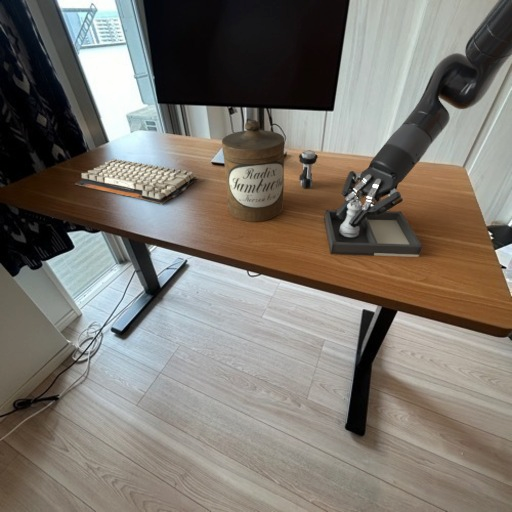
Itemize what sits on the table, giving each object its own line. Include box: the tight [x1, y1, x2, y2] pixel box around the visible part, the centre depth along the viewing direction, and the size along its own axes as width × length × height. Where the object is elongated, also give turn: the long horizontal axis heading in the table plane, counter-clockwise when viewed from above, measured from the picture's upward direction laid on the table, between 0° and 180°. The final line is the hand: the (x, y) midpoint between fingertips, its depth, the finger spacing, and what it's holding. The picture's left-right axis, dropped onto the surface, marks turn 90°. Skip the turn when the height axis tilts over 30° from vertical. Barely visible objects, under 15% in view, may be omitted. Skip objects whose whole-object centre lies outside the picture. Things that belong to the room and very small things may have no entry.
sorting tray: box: [323, 209, 424, 258], centre depth 61 cm, size 18×14×3 cm
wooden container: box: [221, 119, 285, 222], centre depth 67 cm, size 15×15×22 cm
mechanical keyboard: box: [73, 158, 197, 205], centre depth 88 cm, size 38×19×3 cm, turn 66°
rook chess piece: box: [339, 200, 363, 238], centre depth 60 cm, size 4×4×8 cm
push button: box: [298, 150, 319, 190], centre depth 81 cm, size 7×5×10 cm
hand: (345, 221), depth 59 cm, fingers closed on rook chess piece, 3 cm apart
